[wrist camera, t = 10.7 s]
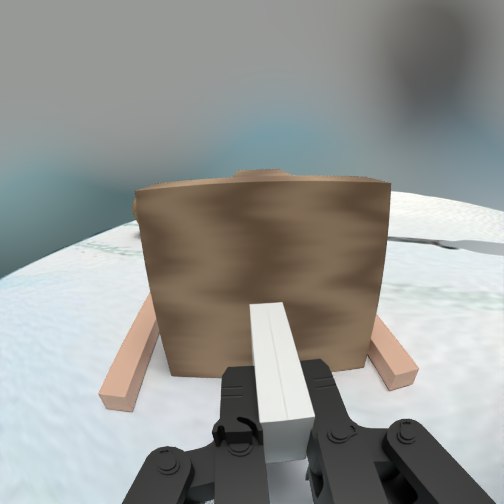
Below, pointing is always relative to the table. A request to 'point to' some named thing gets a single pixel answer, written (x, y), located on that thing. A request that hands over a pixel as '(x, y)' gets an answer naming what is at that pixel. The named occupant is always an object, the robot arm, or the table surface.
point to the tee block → (264, 264)
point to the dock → (146, 333)
